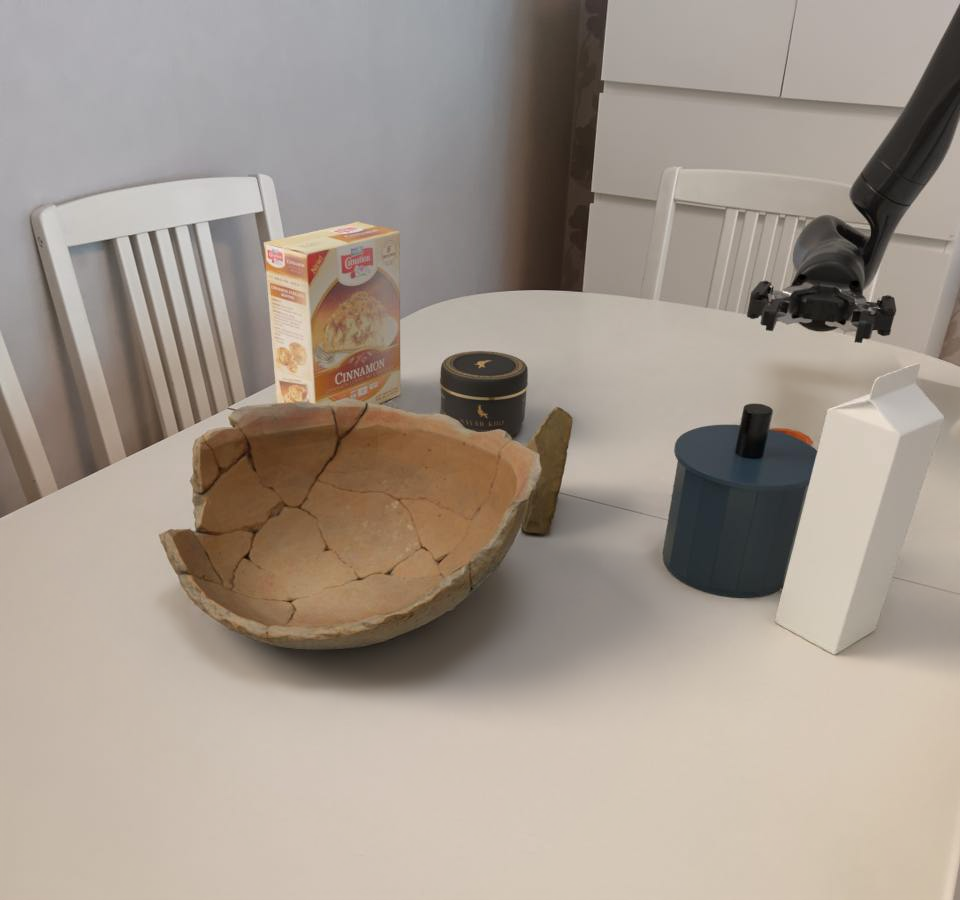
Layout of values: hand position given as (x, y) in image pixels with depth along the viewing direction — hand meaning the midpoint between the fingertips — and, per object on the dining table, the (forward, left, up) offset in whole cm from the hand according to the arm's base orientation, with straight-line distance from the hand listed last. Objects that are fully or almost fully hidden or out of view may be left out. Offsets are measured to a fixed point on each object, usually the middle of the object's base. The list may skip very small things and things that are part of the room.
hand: (815, 326), depth 95 cm
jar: (+22, -26, -17) cm, 38 cm away
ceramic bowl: (+49, 0, -17) cm, 52 cm away
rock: (+28, -6, -17) cm, 33 cm away
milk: (+17, +23, -17) cm, 33 cm away
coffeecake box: (+34, -39, -17) cm, 55 cm away
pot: (+17, +11, -17) cm, 26 cm away
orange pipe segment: (+6, +5, -17) cm, 18 cm away
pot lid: (+17, +11, -6) cm, 21 cm away
